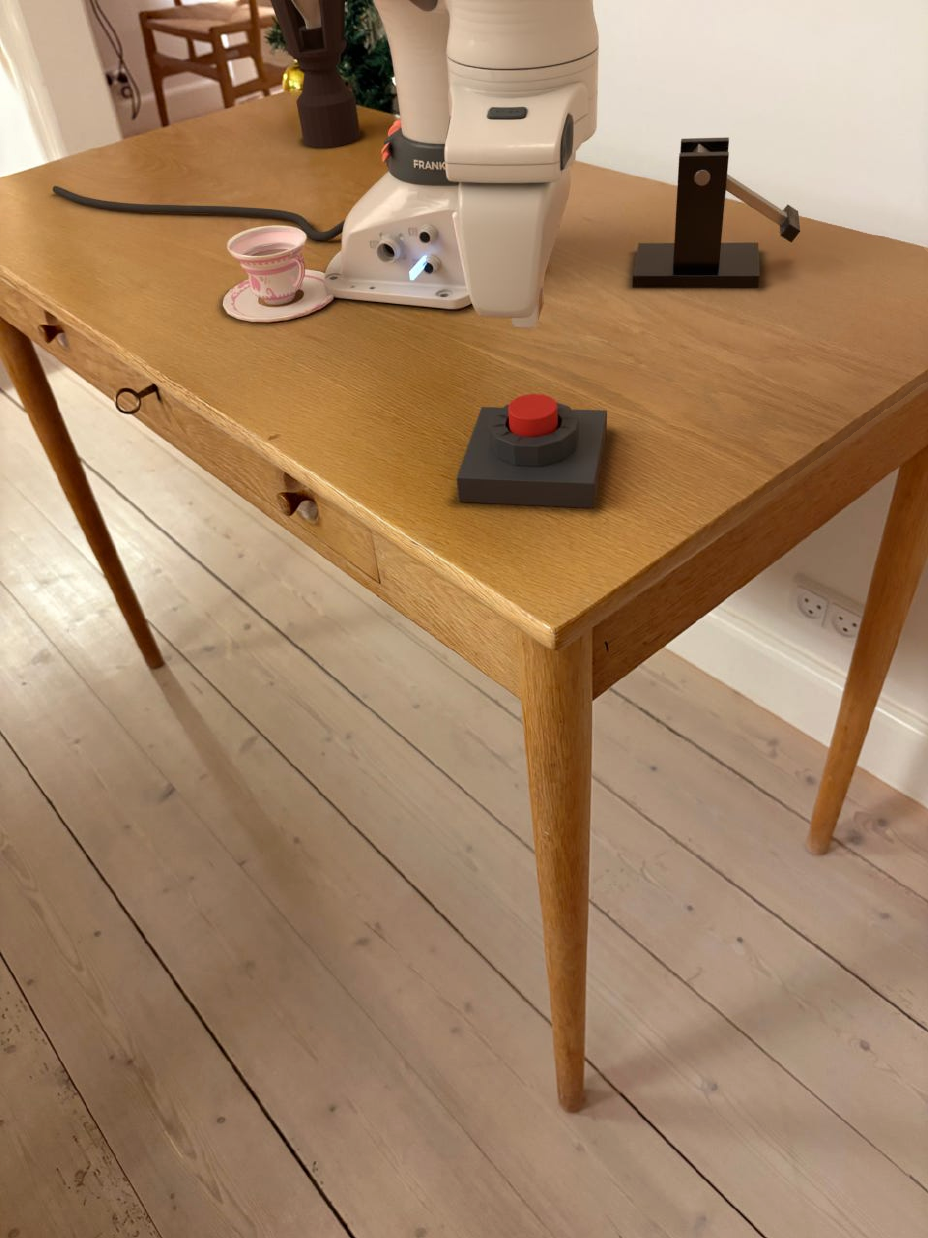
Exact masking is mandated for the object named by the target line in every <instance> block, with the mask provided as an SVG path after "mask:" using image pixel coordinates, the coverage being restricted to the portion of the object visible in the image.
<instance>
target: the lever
mask: <svg viewBox="0 0 928 1238" xmlns="http://www.w3.org/2000/svg"><path fill="white" fill-rule="evenodd" d="M693 152H711V151H709V150H708V149H706V148H705V147H703V146H702V145H700V144H698V145H697V147H696V148H695V150H694V151H693ZM726 192H728V193H729V194H731V195H732V196H734V197H735V198H737V199H739V200H740V201H741V202H743V203H744V204H746V205H748V206H749V207H751V208H752V209H753V210H755V211H757V212H758V213H759V214H761V215H763V216H764V217H766V218H767V219H769V220H771V221H772V222H774V223H775V224H777V225H778V226H779V236H780V237H781V238H783V239H785V240H786V241H788V242H789V243H793V242H794V241H795V239H796V238H797V237H798V236H799V234H800V233H801V224H800V214H799V211H798V210H797V209H795V207H792V205H790V204H786V206H785V207H784V208H783V209H781V207H778V206H777V205H775V204H774V203H772V202H771V201H769V200H768V199H766V198H765V197H763V196H762V195H760V194H759V193H757V192H755V191H754V190H753V189H751V188H750V187H748V186H746V185H745V184H743V183H742V182H740V181H739V180H737V179H736V178H734V177H733V176H731V175H730V174H728V173H727V182H726Z"/></svg>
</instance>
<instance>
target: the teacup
mask: <svg viewBox="0 0 928 1238" xmlns="http://www.w3.org/2000/svg"><path fill="white" fill-rule="evenodd" d="M307 239H308V235H307V234H306V233H305V231H304V230H303V229H300V228H298V227H294V226H289V225H263V226H257V227H253V228H249V229H246V230H245V229H244V230H242V231H240V232H238V233H236V234H234V235H233V236H232V237H230V238H229V239H228V240H227V243H226V248H227V250H228V252H229V255H230V256H231V257H232V259H234V260H235V261H236V262H238V263H239V265H240V267H241V269H242V270H243V271H244V272H245V273H246V276H247V278H248V279H245V280H243V281H241V282H239V283H238V284H236V285H235V286H233V287H232V288H230V289H229V291H228V292H227V293H226V294H225V295H224V296H223V300H222V301H223V302H222V307H223V308H224V310H225V312H226V314H227V315H229V316H231V317H233V318H235V319H237V320H240V321H246V322H251V323H274V322H281V321H290V320H293V319H296V318H300V317H305V316H307V315H310V314H312V313H314V312H317V311H318V310H321V309H322V308H324V307H325V306H327V305H328V304H330V303H331V302H332V301H333V300H334V298H335V297H334V295H333V294H332V295H328V294H327V292H326V290H325V285H324V275H325V272H323V271H320V270H314V269H308V268H306V264H305V258H304V257H303V254H302V251H303V249H304V248H305V246H306V243H307ZM299 290H300V291H302V293H303V296H302V298H301V299H299V300H297V301H295V302H293V303H291V304H288V305H284V304H287V303H290V302H291V301H293V299H294V300H295V297H296V294H297V292H298V291H299ZM260 298H261V300H262V301H263V302H264V303H265V304H266V305H271V306H265V305H262V304H261V303H260V302H259V299H260ZM278 305H279V306H278ZM280 305H283V306H280Z"/></svg>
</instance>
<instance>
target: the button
mask: <svg viewBox="0 0 928 1238" xmlns="http://www.w3.org/2000/svg"><path fill="white" fill-rule="evenodd" d="M556 402H557V401H556V400H555V399H554V398H552V397H551V396H549V395H546V394H541V393H529V394H522V395H520V396H518V397H516V398H514V399H513V400H511V401H510V402H509V404H508V405H509V407H508V412H509V428H510V431H511V432H512V433H513V434H516V435H519V436H521V437H540V436H544V435H547V434H551V433H553V432H554V431H555V430H556V429H557V427H558V410H557V403H558V402H557V403H556Z"/></svg>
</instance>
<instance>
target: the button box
mask: <svg viewBox="0 0 928 1238" xmlns="http://www.w3.org/2000/svg"><path fill="white" fill-rule="evenodd" d="M556 403H557V410H558V427H557V429H556V430H555V431H554V432H553V433H551V434H547V435H544V436H540V437H521V436H519V435H516V434H513V433H512V432H511V431H510V428H509V412H508V407H509V404H506V405H504V406H503V407H499V406H498V407H497V406H496V407H494V406H493V407H492V406H487V407H486V406H482V407H481V408H480V410H479V414H478V416H477V419H476V422H475V424H474V427H473V431H472V433H471V436H470V438H469V443H468V445H467V448H466V450H465V452H464V455H463V459H462V462H461V465H460V467H459V470H458V473H457V476H456V485H457V493H458V501H459V503H479V504H496V505H497V504H501V505H522V506H539V507H541V506H543V507H563V508H564V507H565V508H583V509H584V508H585V509H587V508H588V509H594V508H595V505H596V499H597V494H598V488H599V482H600V476H601V471H602V465H603V458H604V452H605V447H606V441H607V436H608V410H606V409H605V410H602V409H600V410H599V409H574V408H573V409H572V408H571V407H570V406H569V405H566V404H563V403H560V402H558V401H556Z"/></svg>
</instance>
